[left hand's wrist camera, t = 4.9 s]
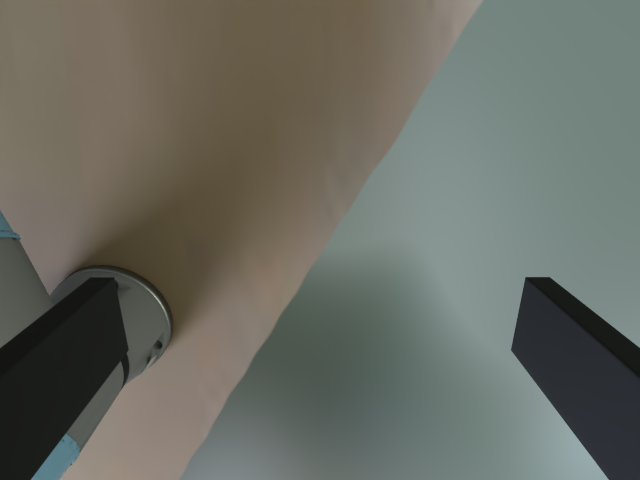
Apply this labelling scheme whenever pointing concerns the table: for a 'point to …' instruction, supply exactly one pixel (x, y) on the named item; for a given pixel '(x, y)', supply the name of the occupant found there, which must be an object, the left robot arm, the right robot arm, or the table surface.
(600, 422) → the left robot arm
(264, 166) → the table surface
